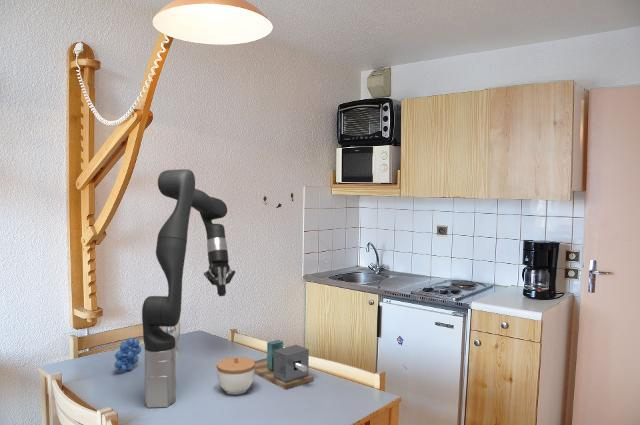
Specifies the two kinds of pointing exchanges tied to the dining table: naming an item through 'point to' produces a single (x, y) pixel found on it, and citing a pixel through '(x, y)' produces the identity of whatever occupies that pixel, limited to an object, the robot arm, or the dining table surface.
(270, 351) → the shaft
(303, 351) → the block
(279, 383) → the base board
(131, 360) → the grapes
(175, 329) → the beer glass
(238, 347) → the dining table surface
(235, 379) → the lidded bowl
